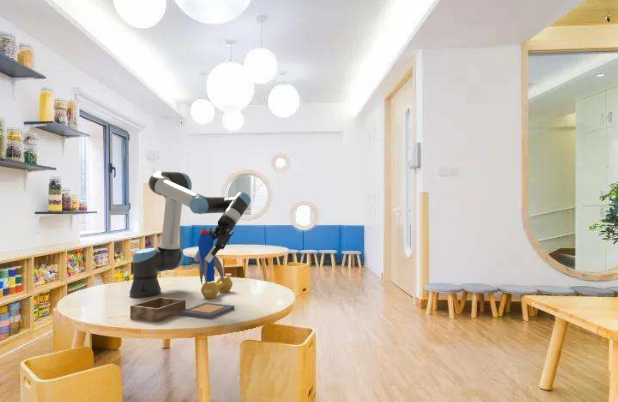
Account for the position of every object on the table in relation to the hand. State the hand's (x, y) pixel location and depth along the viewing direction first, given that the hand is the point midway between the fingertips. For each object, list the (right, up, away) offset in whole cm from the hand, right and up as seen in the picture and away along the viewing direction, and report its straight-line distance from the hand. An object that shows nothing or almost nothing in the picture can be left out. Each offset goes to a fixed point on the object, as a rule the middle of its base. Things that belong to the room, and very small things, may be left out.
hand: (201, 260), depth 165 cm
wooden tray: (-18, -23, 0) cm, 29 cm away
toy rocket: (+2, -11, +3) cm, 12 cm away
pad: (+2, -23, +3) cm, 23 cm away
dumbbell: (-1, -23, +35) cm, 42 cm away
